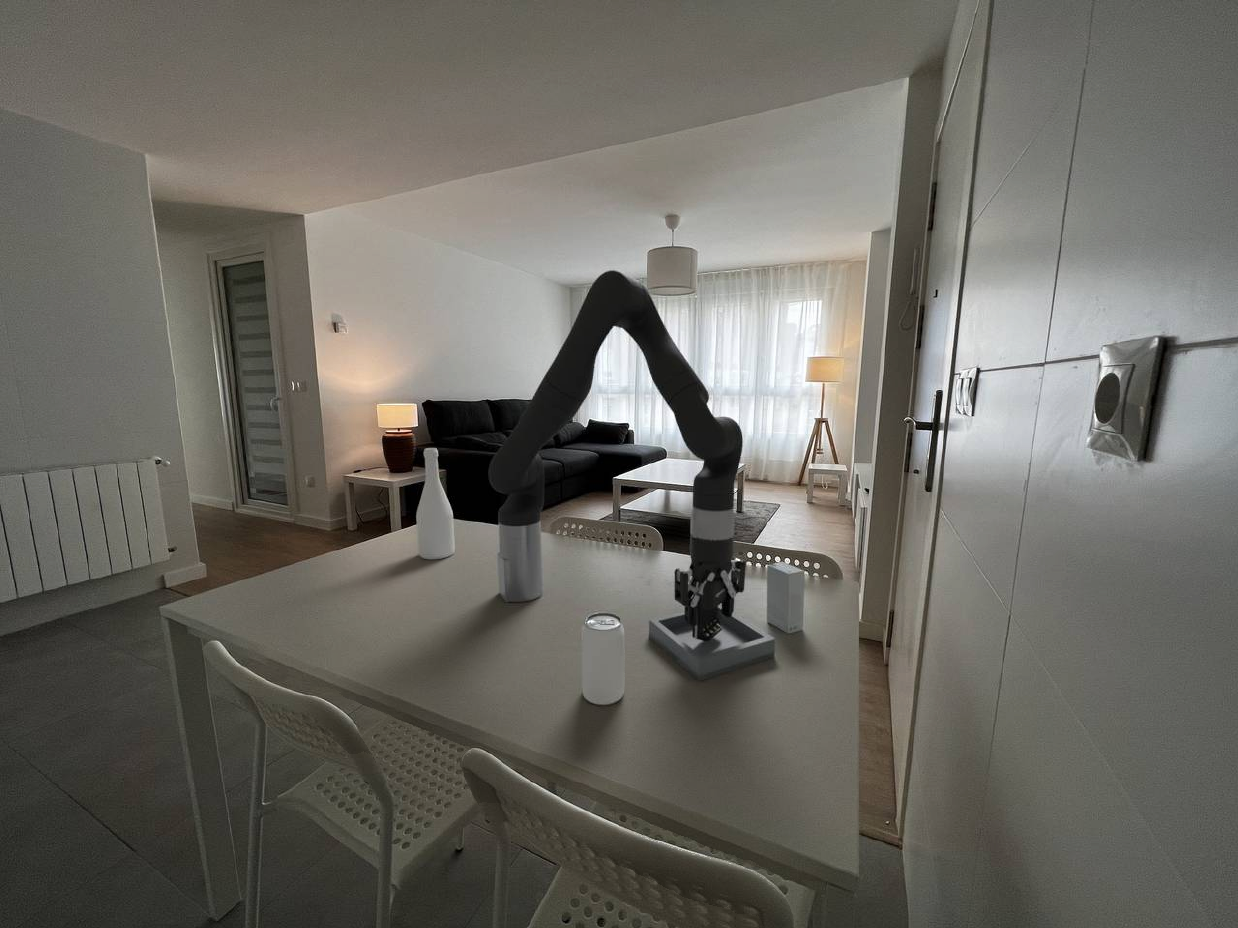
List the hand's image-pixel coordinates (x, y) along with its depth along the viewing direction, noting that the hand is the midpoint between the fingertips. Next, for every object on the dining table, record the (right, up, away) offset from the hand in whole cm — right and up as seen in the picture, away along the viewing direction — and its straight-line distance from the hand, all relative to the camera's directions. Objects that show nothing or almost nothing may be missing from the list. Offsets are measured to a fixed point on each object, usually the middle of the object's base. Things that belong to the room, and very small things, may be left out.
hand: (709, 619), depth 90 cm
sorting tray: (0, -5, +1) cm, 5 cm away
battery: (0, -3, +1) cm, 3 cm away
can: (-19, -8, -13) cm, 24 cm away
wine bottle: (-67, +2, +50) cm, 84 cm away
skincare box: (+16, -4, +9) cm, 19 cm away
